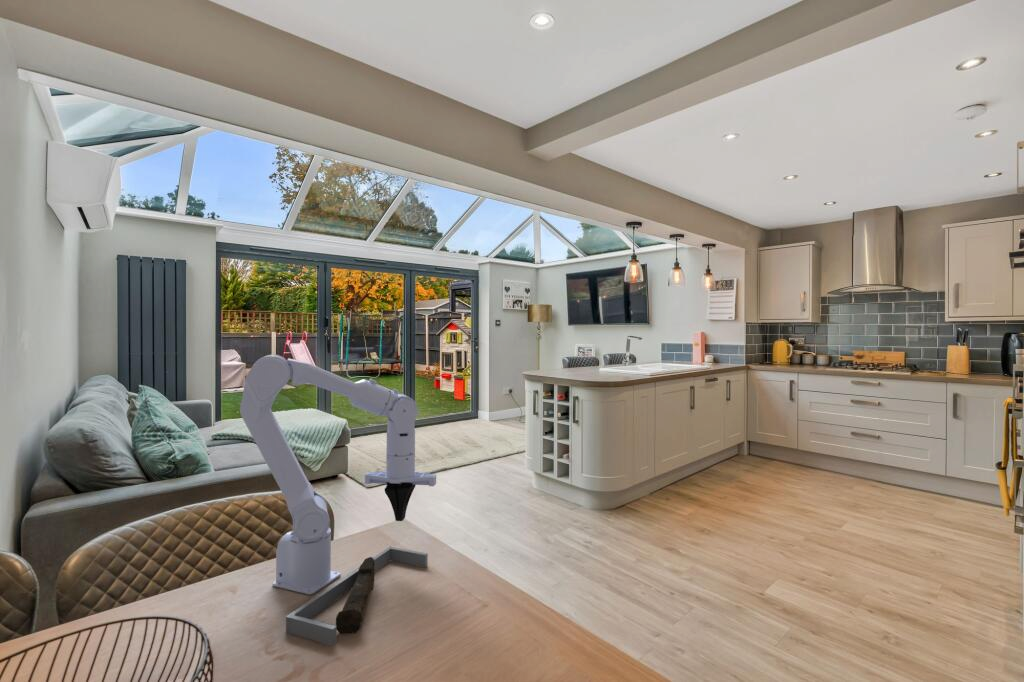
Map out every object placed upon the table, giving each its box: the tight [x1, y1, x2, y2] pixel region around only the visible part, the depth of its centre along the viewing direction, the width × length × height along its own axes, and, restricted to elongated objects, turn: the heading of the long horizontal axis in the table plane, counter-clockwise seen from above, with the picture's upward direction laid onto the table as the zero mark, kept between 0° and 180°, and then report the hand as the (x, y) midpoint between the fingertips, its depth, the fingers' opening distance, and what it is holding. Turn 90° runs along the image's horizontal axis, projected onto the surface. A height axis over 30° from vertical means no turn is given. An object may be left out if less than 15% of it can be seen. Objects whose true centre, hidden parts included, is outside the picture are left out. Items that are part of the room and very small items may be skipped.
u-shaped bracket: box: [285, 546, 429, 647], centre depth 86 cm, size 9×28×2 cm, turn 159°
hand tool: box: [335, 556, 376, 635], centre depth 84 cm, size 19×4×5 cm, turn 4°
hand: (400, 519), depth 97 cm, fingers closed
